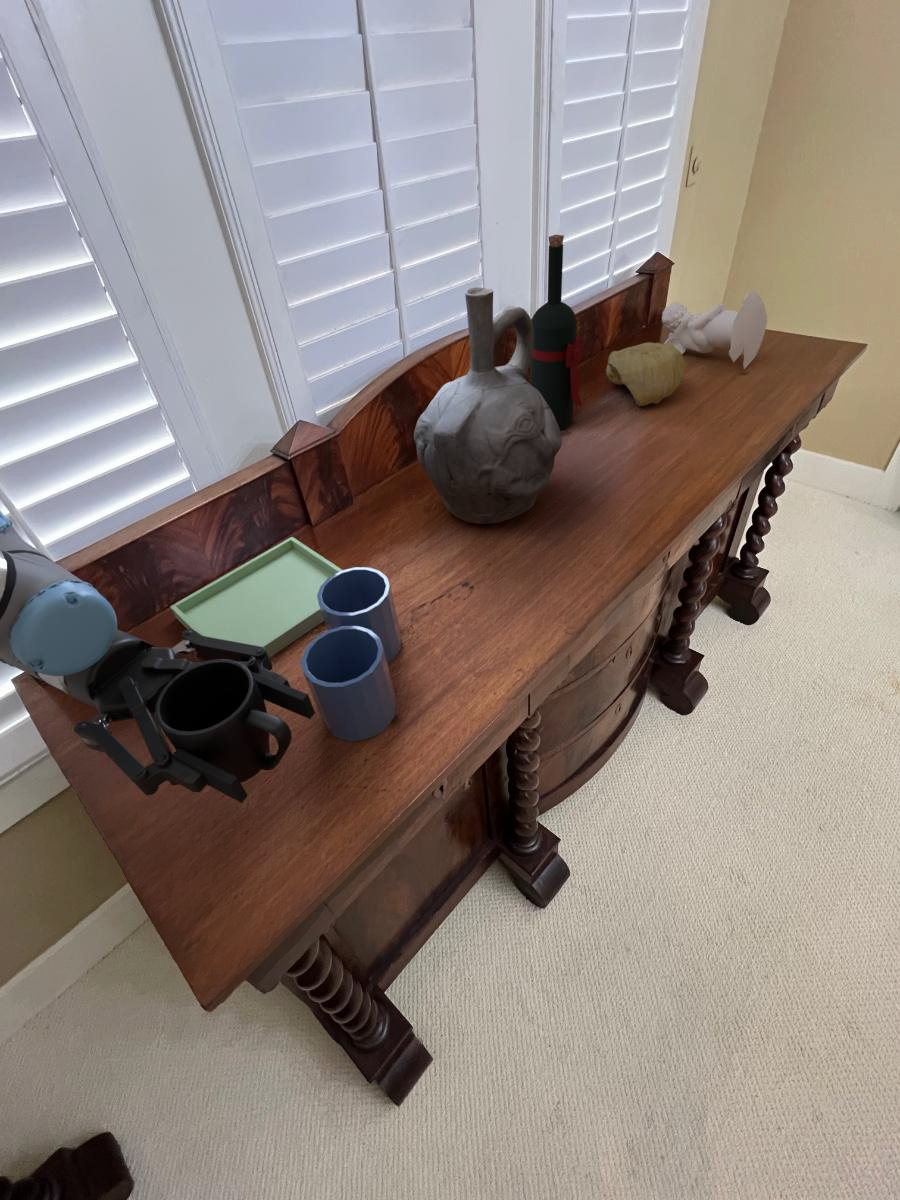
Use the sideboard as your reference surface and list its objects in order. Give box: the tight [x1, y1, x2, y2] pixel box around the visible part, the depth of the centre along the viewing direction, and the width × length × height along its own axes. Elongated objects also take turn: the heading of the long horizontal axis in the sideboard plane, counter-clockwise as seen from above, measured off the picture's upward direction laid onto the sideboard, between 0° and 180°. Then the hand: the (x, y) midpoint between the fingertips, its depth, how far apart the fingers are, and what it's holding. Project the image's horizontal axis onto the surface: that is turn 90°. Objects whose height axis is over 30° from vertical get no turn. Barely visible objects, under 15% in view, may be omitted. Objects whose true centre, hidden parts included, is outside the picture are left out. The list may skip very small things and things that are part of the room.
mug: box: [154, 659, 293, 784], centre depth 51 cm, size 8×12×10 cm
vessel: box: [413, 286, 563, 525], centre depth 82 cm, size 24×22×30 cm
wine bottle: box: [529, 234, 584, 432], centre depth 98 cm, size 8×10×30 cm
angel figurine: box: [661, 289, 768, 370], centre depth 120 cm, size 14×20×12 cm
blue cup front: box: [300, 626, 397, 742], centre depth 60 cm, size 8×8×9 cm
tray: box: [169, 536, 343, 659], centre depth 77 cm, size 19×16×2 cm
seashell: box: [605, 341, 685, 407], centre depth 110 cm, size 17×11×15 cm
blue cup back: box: [317, 566, 402, 665], centre depth 67 cm, size 8×8×9 cm
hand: (276, 746), depth 49 cm, fingers closed on mug, 8 cm apart
